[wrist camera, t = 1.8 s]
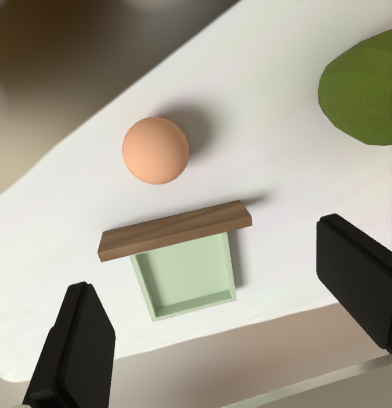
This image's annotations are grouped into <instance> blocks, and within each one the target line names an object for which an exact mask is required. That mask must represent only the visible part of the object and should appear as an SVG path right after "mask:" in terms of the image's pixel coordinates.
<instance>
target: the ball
mask: <svg viewBox="0 0 392 408" xmlns="http://www.w3.org/2000/svg"><path fill="white" fill-rule="evenodd" d="M122 152H123V159H124V162H125V164H126V166H127V168H128V169H129V171H130V172H131V173H132V174H133V175H134V176H135V177H136V178H138V179H139V180H141V181H143V182H146V183H149V184H165V183H168V182H170V181H172V180H174V179H176V178H177V177H178V176H179V175H180V174H181V173H182V172H183V171H184V169H185V167H186V165H187V163H188V159H189V144H188V141H187V138H186V136H185V134H184V132H183V131H182V130H181V129H180V128H179V127H178V126H177V125H176V124H175V123H173V122H172V121H170V120H168V119H165V118H161V117H149V118H145V119H142V120H140V121H138V122H137V123H135V124H134V125H133V126H132V127H131V128H130V129H129V131H128V132H127V134H126V136H125V138H124V141H123V148H122Z"/></svg>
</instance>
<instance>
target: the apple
mask: <svg viewBox="0 0 392 408" xmlns="http://www.w3.org/2000/svg"><path fill="white" fill-rule="evenodd" d="M318 101H319V105H320V107H321V109H322V111H323V113H324V114H325V115H326V116H327V117H328V119H329V120H330V121H331V122H332V123H333V125H334V126H335V127H337V128H338V129H340V130H341V131H343V132H345V133H346V134H348V135H350V136H352V137H354V138H355V139H357V140H359V141H361V142H363V143H365V144H368V145H380V146H386V145H392V29H391V30H388V31H385V32H383V33H380V34H378V35H376V36H373V37H371V38H369V39H366V40H364V41H361V42H360V43H358V44H357V45H355V46H354V47H352V48H351V49H349V50H348V51H346V52H345V53H343V54H342V55H340V56H339V57H337V58H336V59H335V60H333V61H332V62H331V63H330V64H329V65H328V66H326V68H325V70H324V72H323V74H322V76H321V78H320V82H319V88H318Z"/></svg>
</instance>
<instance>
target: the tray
mask: <svg viewBox="0 0 392 408" xmlns="http://www.w3.org/2000/svg"><path fill="white" fill-rule="evenodd" d="M129 256H130V259H131V262H132V265H133V268H134V270H135V273H136V276H137V279H138V282H139V285H140V288H141V290H142V293H143V296H144V299H145V302H146V305H147V308H148V310H149V313H150V316H151V319H152V322H155V321H159V320H163V319H166V318H170V317H174V316H178V315H182V314H185V313H189V312H193V311H197V310H201V309H204V308H208V307H212V306H216V305H220V304H223V303H227V302H231V301H235V300H236V292H235V285H234V278H233V271H232V264H231V257H230V250H229V243H228V236H227V232H224V233H220V234H216V235H211V236H207V237H203V238H199V239H195V240H191V241H187V242H183V243H178V244H174V245H170V246H166V247H162V248H158V249H154V250H150V251H145V252H141V253H137V254H133V255H129Z"/></svg>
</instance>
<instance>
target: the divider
mask: <svg viewBox="0 0 392 408" xmlns="http://www.w3.org/2000/svg"><path fill="white" fill-rule="evenodd" d="M249 226H252V218H251V215H250V213H249V212H248V211H247V210H246V208H245V207H244V206H243V204H242V203H241V202H240V200H238V201H234V202H230V203H225V204H221V205H217V206H213V207H208V208H204V209H200V210H195V211H191V212H187V213H183V214H178V215H174V216H170V217H166V218H161V219H157V220H153V221H148V222H144V223H140V224H136V225H131V226H127V227H123V228H119V229H114V230H110V231H106V232H103V234H102V238H101V241H100V245H99V249H98V252H97V253H98V255H99V258H100V260H101V262H104V261H108V260H112V259H117V258H121V257H125V256H129V255H133V254H137V253H141V252H145V251H150V250H154V249H158V248H162V247H166V246H170V245H174V244H178V243H183V242H187V241H191V240H195V239H199V238H203V237H207V236H211V235H216V234H220V233H224V232H228V231H232V230H236V229H240V228H244V227H249Z"/></svg>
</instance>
